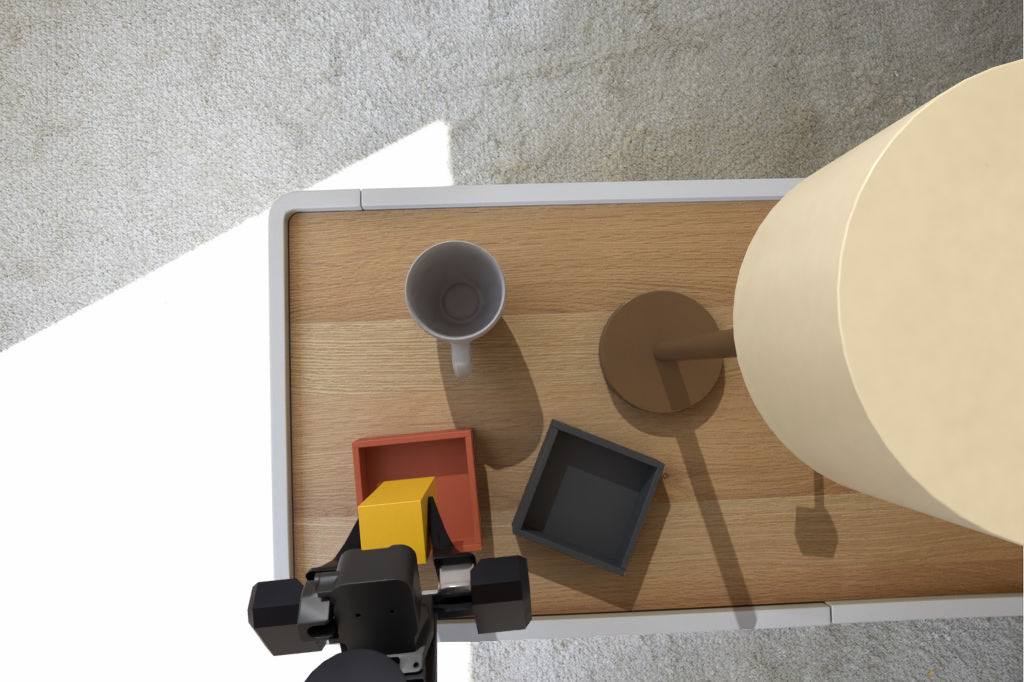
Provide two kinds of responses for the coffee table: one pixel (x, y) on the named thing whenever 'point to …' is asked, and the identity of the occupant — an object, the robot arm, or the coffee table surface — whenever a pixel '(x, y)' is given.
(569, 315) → the coffee table surface
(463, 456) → the bin left
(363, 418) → the coffee table surface
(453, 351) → the mug
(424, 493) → the yellow box
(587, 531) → the bin right
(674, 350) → the tall lamp
